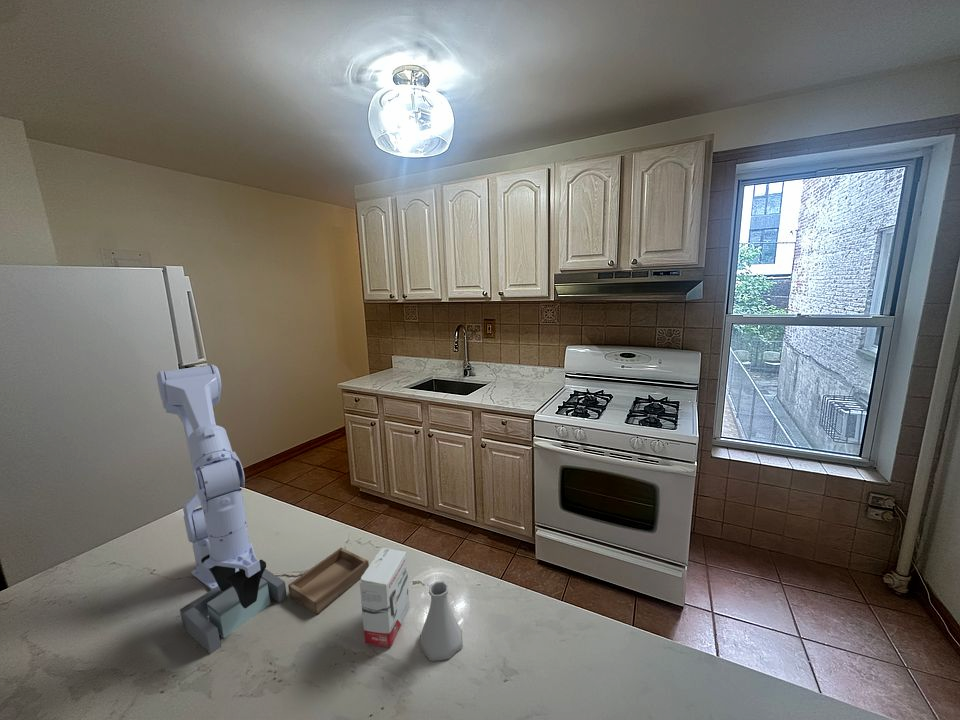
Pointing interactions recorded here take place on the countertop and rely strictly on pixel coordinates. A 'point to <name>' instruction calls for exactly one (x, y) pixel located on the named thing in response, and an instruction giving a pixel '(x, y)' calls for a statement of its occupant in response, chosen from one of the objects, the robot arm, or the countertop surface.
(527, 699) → the countertop surface
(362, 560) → the walnut tray
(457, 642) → the flask
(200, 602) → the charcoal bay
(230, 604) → the pale grey block
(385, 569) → the ink box
